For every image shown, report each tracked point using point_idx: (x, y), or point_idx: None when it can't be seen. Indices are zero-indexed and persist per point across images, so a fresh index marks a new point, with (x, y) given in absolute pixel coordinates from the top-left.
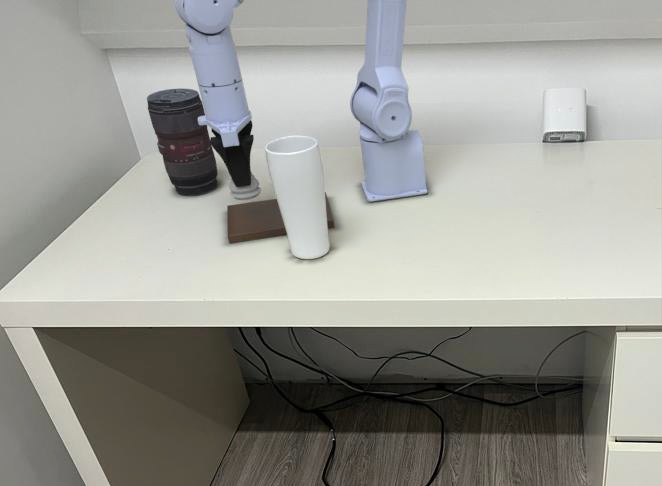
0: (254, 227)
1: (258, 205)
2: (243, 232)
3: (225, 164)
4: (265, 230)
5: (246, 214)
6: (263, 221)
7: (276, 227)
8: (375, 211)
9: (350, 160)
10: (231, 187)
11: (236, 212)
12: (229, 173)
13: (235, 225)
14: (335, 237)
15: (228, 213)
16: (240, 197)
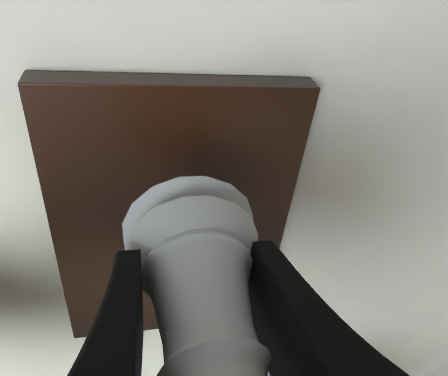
0: (79, 174)
1: (262, 183)
2: (40, 140)
3: (74, 364)
4: (45, 204)
5: (204, 150)
6: (123, 198)
7: (59, 232)
8: (143, 369)
9: (427, 326)
10: (159, 218)
11: (237, 119)
12: (104, 305)
13: (117, 114)
14: (18, 322)
15: (244, 90)
16: (127, 216)
